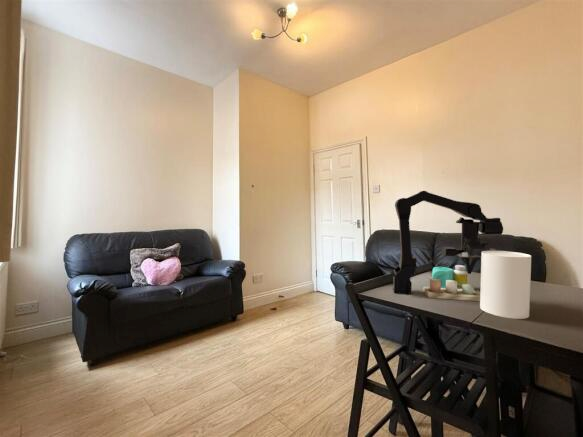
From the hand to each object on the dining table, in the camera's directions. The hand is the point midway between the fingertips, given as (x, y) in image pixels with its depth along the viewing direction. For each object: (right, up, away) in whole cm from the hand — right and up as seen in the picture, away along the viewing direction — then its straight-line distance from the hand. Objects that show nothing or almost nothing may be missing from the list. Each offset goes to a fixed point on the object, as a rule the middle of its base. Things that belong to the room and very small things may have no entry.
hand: (469, 273), depth 111 cm
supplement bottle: (+4, -9, +13) cm, 16 cm away
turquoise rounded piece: (-2, -9, +16) cm, 18 cm away
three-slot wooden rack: (-6, -9, +2) cm, 11 cm away
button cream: (-6, -8, +2) cm, 10 cm away
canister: (+2, -10, -15) cm, 18 cm away
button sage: (0, -9, 0) cm, 9 cm away
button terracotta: (-12, -7, +3) cm, 14 cm away
